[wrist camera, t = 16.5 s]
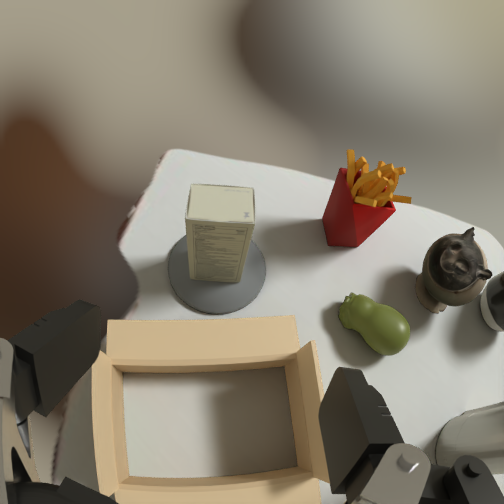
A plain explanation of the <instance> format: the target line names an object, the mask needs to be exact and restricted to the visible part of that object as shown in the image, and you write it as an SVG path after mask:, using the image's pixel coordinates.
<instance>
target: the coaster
mask: <svg viewBox="0 0 504 504" xmlns="http://www.w3.org/2000/svg"><path fill="white" fill-rule="evenodd" d="M168 271H169V278H170V282H171V284H172V287H173V289H174V290H175V292H176V294H177V295H178V296H179V297H180V298H181V299H182V300H183V301H184V302H185V303H186V304H188V305H189V306H191V307H192V308H194V309H196V310H199V311H201V312H205V313H210V314H226V313H231V312H235V311H237V310H240V309H242V308H244V307H245V306H247V305H248V304H250V303H251V302H252V301H253V300H254V299H255V298H256V296H257V295H258V294H259V292H260V290H261V288H262V286H263V283H264V280H265V275H266V267H265V261H264V258H263V255H262V253H261V251H260V250H259V248H258V247H257V245H256V244H255V243H254V242H253V241H252V240H251V241H250V245H249V249H248V253H247V257H246V261H245V265H244V269H243V273H242V277H241V281H240V282H218V281H204V280H194V279H190V273H189V262H188V249H187V236H186V235H185V236H184V237H183V238H182V239H181V240H180V241H179V242H178V243H177V244H176V245H175V247H174V249H173V250H172V252H171V255H170V258H169V264H168Z"/></svg>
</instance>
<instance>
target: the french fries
mask: <svg viewBox="0 0 504 504" xmlns="http://www.w3.org/2000/svg"><path fill="white" fill-rule="evenodd" d="M347 163H348V169H346V168H340V169H339V172H338V175H337V178H336V181H335V184H334V187H333V189H332V192H331V195H330V198H329V201H328V204H327V206H326V209H325V212H324V215H323V217H322V220H323V225H324V229H325V234H326V238H327V243H328V246H343V247H358V246H359V245H360V244H362V243H363V242H364V241H365V240H366V239H367V238H368V237H369V236H370V235H371V234H372V233H373V232H374V231H375V230H376V229H378V228H379V227H380V226H381V225H382V224H383V223H384V222H385V221H386V220H387V219H388V218H389V217H390V216H391V215H392V214H393V213H394V212H395V211H396V209H395V207H394V204H393V202H401V203H409V204H411V197H406V196H398V195H393V192H394V191H395V188H396V186H397V184H398V179H399V175H402V174H405V172H406V170H405V167H400V168H394V166H393V165H392V163H391V164H388V165H385V163H384V162H383V161H379V163H378V167H377V169H375V170H374V171H371V172H369V164H366V163H367V162H366V160H365V158H364V157H361V158H359V160H357V161H356V162H355V155H354V150H347ZM360 169H361V171H359V170H360ZM386 186H387V187H386ZM392 201H393V202H392Z"/></svg>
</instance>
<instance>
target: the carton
mask: <svg viewBox="0 0 504 504" xmlns="http://www.w3.org/2000/svg"><path fill="white" fill-rule="evenodd" d="M283 366H284V368H285V375H286V382H287V389H288V396H289V404H290V411H291V419H292V426H293V434H294V441H295V449H296V457H297V465H298V466H297V467H292V468H286V469H280V470H274V471H268V472H260V473H253V474H244V475H234V476H221V477H204V478H152V477H135V476H129V469H128V460H127V450H126V438H125V424H124V405H123V372H136V373H194V372H220V371H237V370H251V369H262V368H273V367H283ZM323 397H324V391H323V384H322V378H321V372H320V366H319V360H318V354H317V349H316V343H315V340H312V341H310V342H308V343H307V344H306V345H305V346H303V347H302V348H301V349H300V345H299V339H298V333H297V326H296V320H295V315H289V316H274V317H257V318H237V319H209V320H108V326H107V347H106V354H105V353H103V352H102V351H101V350H100V352H99V355H98V358H97V360H96V361H95V363H94V364H93V365H92V420H93V437H94V449H95V460H96V469H97V477H98V484H99V491H100V493H101V494H103V495H106V496H108V497H109V496H110V495H112V494H113V493H115V500H116V502H117V503H119V504H321V496H320V487H319V479H320V480H322V481H325V482H327V483H330V480H329V474H328V469H327V463H326V457H325V452H324V446H323V441H322V435H321V430H320V425H319V419H318V414H319V408H320V404H321V402H322V399H323Z"/></svg>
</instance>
